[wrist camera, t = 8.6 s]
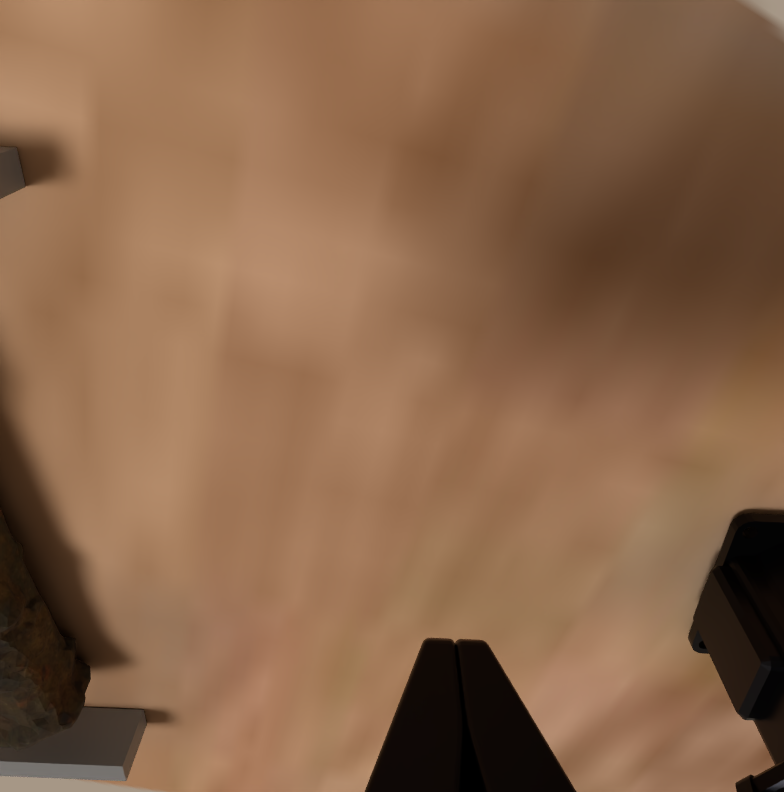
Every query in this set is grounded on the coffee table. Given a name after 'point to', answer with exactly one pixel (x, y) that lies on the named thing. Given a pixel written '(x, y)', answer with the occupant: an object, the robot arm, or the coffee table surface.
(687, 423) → the coffee table surface
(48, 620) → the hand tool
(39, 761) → the plate
